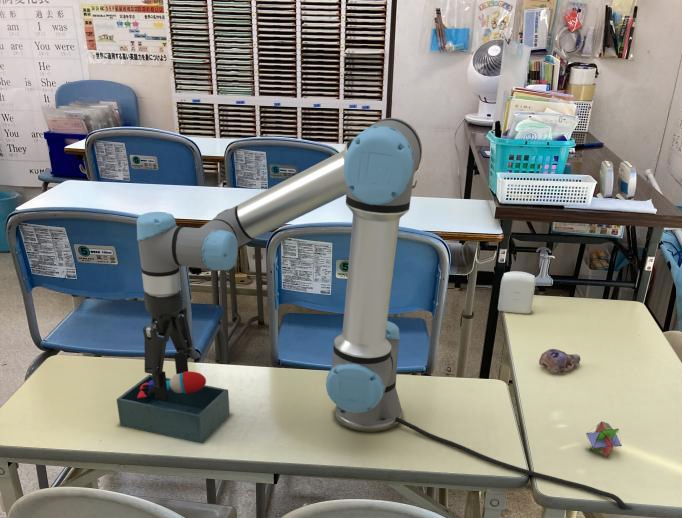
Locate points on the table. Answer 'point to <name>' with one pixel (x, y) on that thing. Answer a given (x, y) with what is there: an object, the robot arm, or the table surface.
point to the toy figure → (178, 384)
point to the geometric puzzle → (604, 438)
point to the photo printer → (516, 292)
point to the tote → (175, 411)
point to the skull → (559, 361)
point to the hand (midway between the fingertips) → (172, 389)
